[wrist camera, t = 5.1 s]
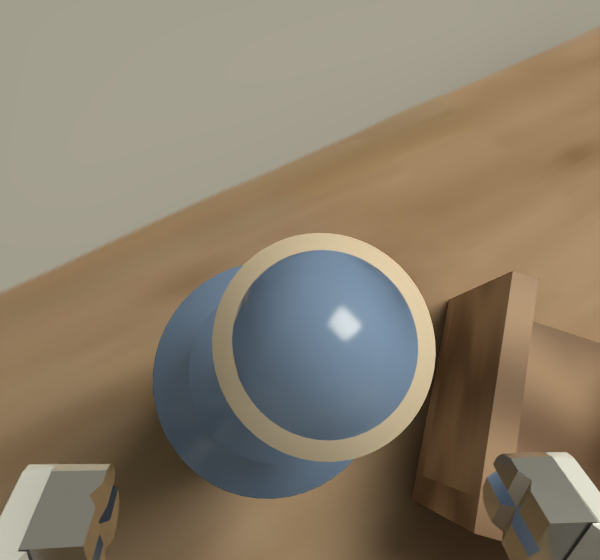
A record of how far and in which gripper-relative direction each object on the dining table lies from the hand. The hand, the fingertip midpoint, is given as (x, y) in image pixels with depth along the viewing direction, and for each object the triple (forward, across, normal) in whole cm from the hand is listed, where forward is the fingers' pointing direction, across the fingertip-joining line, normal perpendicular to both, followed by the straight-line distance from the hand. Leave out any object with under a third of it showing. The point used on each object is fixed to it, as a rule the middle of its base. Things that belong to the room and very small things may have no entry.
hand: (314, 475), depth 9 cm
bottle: (+10, +1, +7) cm, 13 cm away
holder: (+9, -14, +9) cm, 19 cm away
